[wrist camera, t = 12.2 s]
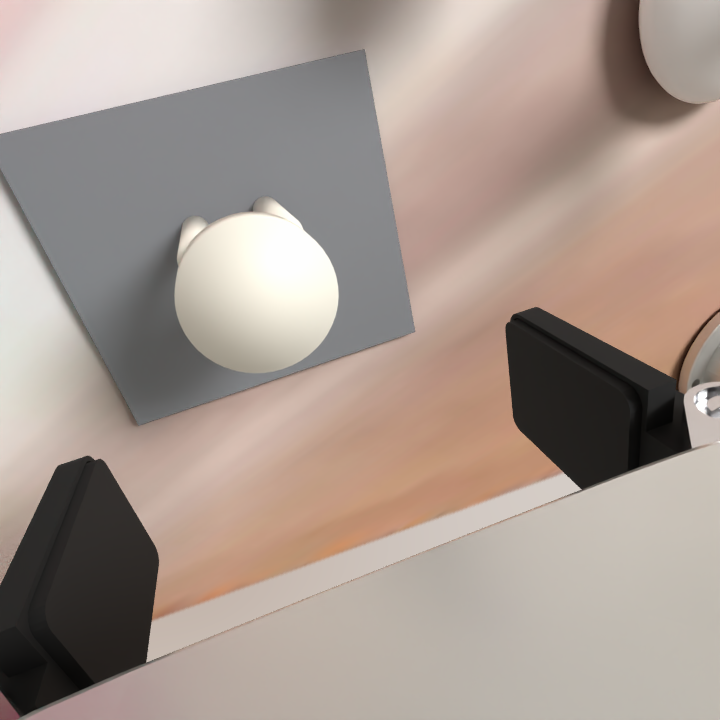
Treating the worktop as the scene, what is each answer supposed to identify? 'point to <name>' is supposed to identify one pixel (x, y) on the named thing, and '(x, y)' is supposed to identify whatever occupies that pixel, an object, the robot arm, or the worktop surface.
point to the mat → (211, 214)
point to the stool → (254, 289)
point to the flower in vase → (683, 46)
